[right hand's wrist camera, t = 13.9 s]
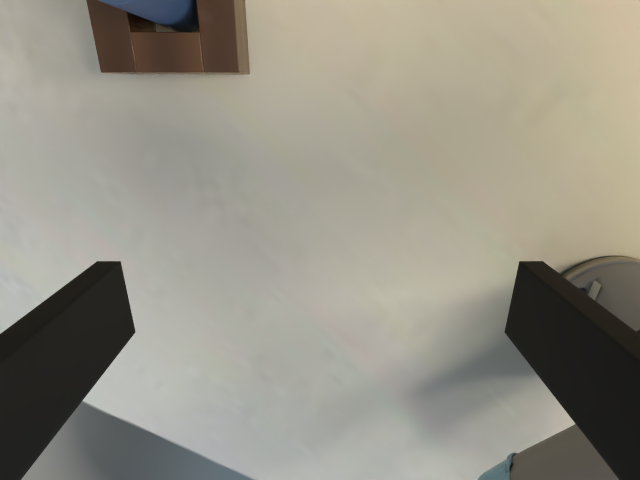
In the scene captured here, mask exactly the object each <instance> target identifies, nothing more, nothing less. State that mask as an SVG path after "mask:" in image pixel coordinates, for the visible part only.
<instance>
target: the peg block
mask: <svg viewBox="0 0 640 480" xmlns="http://www.w3.org/2000/svg"><path fill="white" fill-rule="evenodd" d="M196 3H197V12H198V22H199V31H200V33H199V32H156V30H155V23H154V22H153V21H150V20H147V19H145V18H142V17H140V16H137V15H134V14H132V13H129V12H127V11H124V10H122V9H119V8H116V7H114V6H111V5H109V4H106V3H103V2H101V1H99V0H87V5H88V10H89V15H90V19H91V24H92V29H93V34H94V39H95V44H96V49H97V54H98V59H99V64H100V69H101V72H102V73H121V74H250V71H249V56H248V40H247V25H246V10H245V0H196Z"/></svg>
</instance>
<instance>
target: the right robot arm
mask: <svg viewBox="0 0 640 480" xmlns="http://www.w3.org/2000/svg"><path fill="white" fill-rule="evenodd" d="M134 333H135V328H134V323H133V318H132V314H131V309H130V304H129V299H128V295H127V290H126V285H125V280H124V276H123V271H122V266H121V261H97V262H96V263H94V264H93V265H92V266H90V267H89V268H88V269H86V270H85V271H84V272H82V273H81V274H80V275H78V276H77V277H76V278H74V279H73V280H72V281H70V282H69V283H68V284H66V285H65V286H64V287H62V288H61V289H60V290H58V291H57V292H56V293H54V294H53V295H52V296H50V297H49V298H48V299H46V300H45V301H44V302H42V303H41V304H40V305H38V306H37V307H36V308H34V309H33V310H32V311H30V312H29V313H28V314H26V315H25V316H24V317H22V318H21V319H20V320H18V321H17V322H16V323H14V324H13V325H12V326H10V327H9V328H8V329H6V330H5V331H4V332H2V333H1V334H0V480H21V479H22V478H23V476H24V475H25V474H26V472H27V471H28V470H29V469H30V467H31V466H32V465H33V463H34V462H35V461H36V459H37V458H38V457H39V456H40V454H41V453H42V452H43V450H44V449H45V448H46V447H47V445H48V444H49V443H50V441H51V440H52V439H53V438H54V436H55V435H56V434H57V432H58V431H59V430H60V429H61V427H62V426H63V425H64V423H65V422H66V421H67V420H68V418H69V417H70V416H71V414H72V413H73V412H74V411H75V409H76V408H77V407H78V405H79V404H80V403H81V402H82V400H83V399H84V398H85V396H86V395H87V394H88V393H89V391H90V390H91V389H92V387H93V386H94V385H95V384H96V382H97V381H98V380H99V378H100V377H101V376H102V375H103V373H104V372H105V371H106V369H107V368H108V367H109V365H110V364H111V363H112V362H113V360H114V359H115V358H116V356H117V355H118V354H119V353H120V351H121V350H122V349H123V347H124V346H125V345H126V344H127V342H128V341H129V340H130V338H131V337H132V336H133V335H134ZM505 333H506V335H507V336H508V337H509V338H510V340H511V341H512V342H513V344H514V345H515V346H516V347H517V349H518V350H519V351H520V353H521V354H522V355H523V356H524V358H525V359H526V360H527V362H528V363H529V364H530V365H531V367H532V368H533V369H534V371H535V372H536V373H537V375H538V376H539V377H540V378H541V380H542V381H543V382H544V384H545V385H546V386H547V387H548V389H549V390H550V391H551V393H552V394H553V395H554V396H555V398H556V399H557V400H558V402H559V403H560V404H561V405H562V407H563V408H564V409H565V411H566V412H567V413H568V414H569V416H570V417H571V418H572V420H573V421H574V422H575V423H576V424H575V425H573V426H571V427H569V428H567V429H565V430H563V431H561V432H559V433H557V434H555V435H553V436H551V437H549V438H547V439H545V440H544V441H542V442H540V443H538V444H536V445H534V446H532V447H530V448H528V449H526V450H524V451H522V452H520V453H518V454H517V453H515V452H514V453H511V454H510V455H509V456H508V457H507V459H506V460H505V461H503V462H501V463H500V464H498V465H496V466H495V467H493V468H491V469H490V470H488V471H486V472H485V473H483V474H482V475H481V476H480V477H479V479H478V480H640V260H638V259H635V258H630V257H622V256H613V257H604V258H599V259H594V260H591V261H588V262H585V263H583V264H580V265H578V266H576V267H574V268H572V269H570V270H569V271H567V272H565V273H564V274H562V275H560V274H559V273H558V272H556V271H555V270H554V269H552V268H551V267H550V266H548V265H547V264H546V263H544V262H543V261H519V266H518V271H517V276H516V280H515V285H514V290H513V295H512V299H511V304H510V309H509V314H508V318H507V323H506V328H505Z"/></svg>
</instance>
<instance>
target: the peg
mask: <svg viewBox="0 0 640 480" xmlns="http://www.w3.org/2000/svg"><path fill="white" fill-rule="evenodd" d="M99 1H101V2H103V3H106V4H109V5H111V6H114V7H116V8H119V9H122V10H124V11H127V12H129V13H132V14H134V15H137V16H140V17H142V18H145V19H147V20H150V21H153V22H155V23H158V24H160V25H163V26H166V27H168V28H171V29H173V30H176V31H179V32H193V31H196V30H197V29H199V22H198V12H197V3H196V0H99Z"/></svg>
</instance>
